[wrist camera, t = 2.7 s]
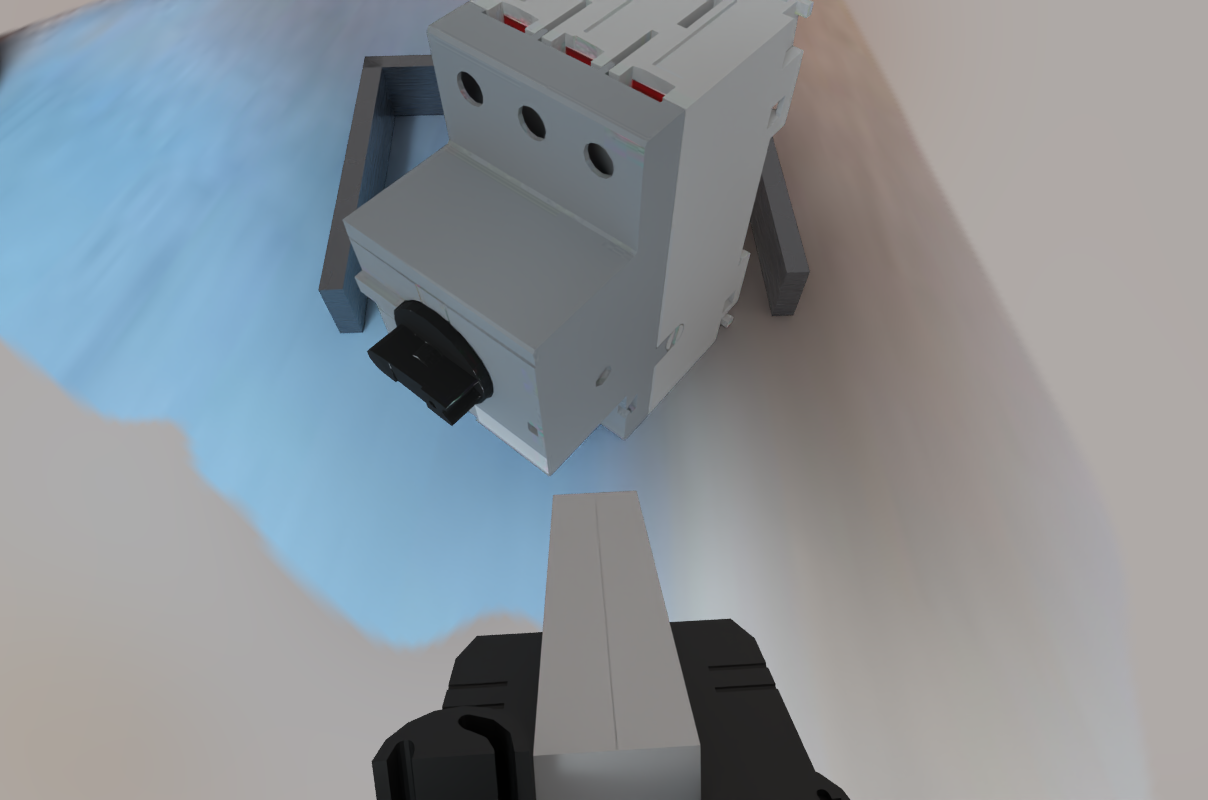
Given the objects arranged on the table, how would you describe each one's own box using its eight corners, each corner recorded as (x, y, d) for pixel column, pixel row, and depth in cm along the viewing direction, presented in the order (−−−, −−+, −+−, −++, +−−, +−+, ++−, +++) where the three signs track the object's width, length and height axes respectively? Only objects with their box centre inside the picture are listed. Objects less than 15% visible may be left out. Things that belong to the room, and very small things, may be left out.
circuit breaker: (392, 441, 29) (236, 141, 17) (606, 246, 35) (613, -86, 23) (525, 550, 27) (462, 298, 14) (732, 322, 33) (818, -2, 20)
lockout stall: (380, 102, 41) (365, 54, 38) (737, 92, 42) (746, 44, 39) (340, 333, 32) (318, 290, 30) (793, 315, 33) (809, 271, 31)
